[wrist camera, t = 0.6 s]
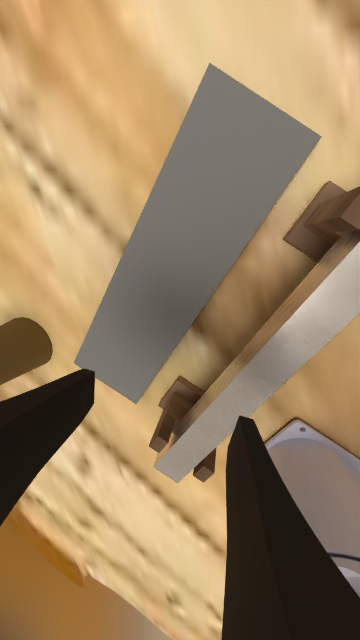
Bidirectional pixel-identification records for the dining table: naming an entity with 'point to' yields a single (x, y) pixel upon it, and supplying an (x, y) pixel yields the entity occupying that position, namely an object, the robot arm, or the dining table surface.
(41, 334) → the cork
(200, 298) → the long grey plate
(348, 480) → the robot arm
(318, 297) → the steel rail
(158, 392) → the dining table surface
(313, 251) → the cradle rack
